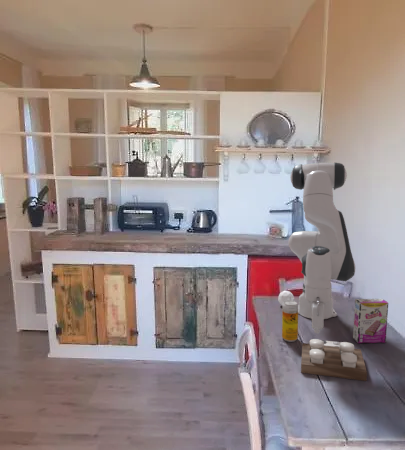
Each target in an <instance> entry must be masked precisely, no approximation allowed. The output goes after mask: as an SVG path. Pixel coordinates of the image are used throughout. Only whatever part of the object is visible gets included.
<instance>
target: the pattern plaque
mask: <svg viewBox="0 0 405 450" xmlns="http://www.w3.org/2000/svg"><path fill="white" fill-rule="evenodd" d="M321 340H322V341H323V342H324V345H325V346H335V347H339V346H340V343H341V342H342V341H340V342H339V341H332V340H323V339H321Z"/></svg>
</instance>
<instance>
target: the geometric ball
mask: <svg viewBox="0 0 405 450" xmlns="http://www.w3.org/2000/svg"><path fill="white" fill-rule="evenodd" d="M277 298H278V299H277V300H278V303H279V304H280V305H281V306H282V305H283V303H284V301H295V296H294V294H293V293H292V292H291V291H290V290H283V291H281V292H280V293H279V294H278V297H277Z"/></svg>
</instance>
